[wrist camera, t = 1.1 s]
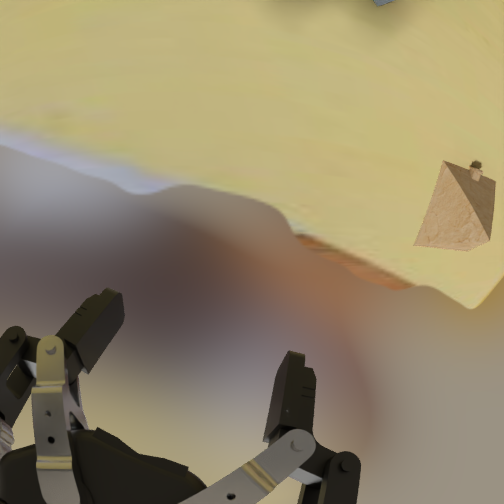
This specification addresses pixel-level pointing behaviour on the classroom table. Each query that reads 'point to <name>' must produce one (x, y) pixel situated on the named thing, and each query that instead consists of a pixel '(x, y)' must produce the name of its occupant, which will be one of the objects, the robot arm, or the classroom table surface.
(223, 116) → the classroom table surface
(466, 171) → the model pyramid
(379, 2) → the pad
